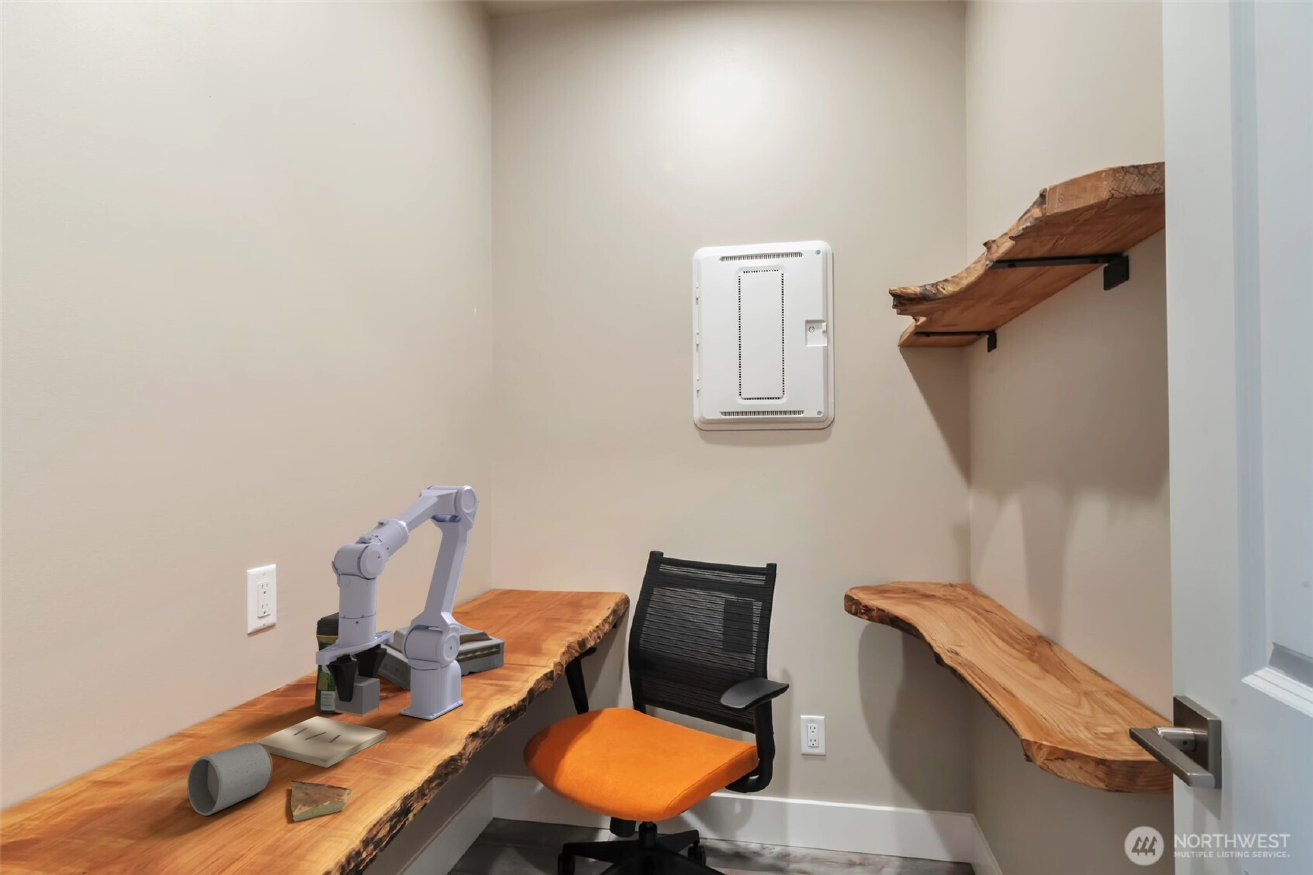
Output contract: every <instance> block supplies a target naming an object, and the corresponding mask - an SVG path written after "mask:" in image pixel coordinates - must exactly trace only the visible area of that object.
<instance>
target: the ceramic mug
mask: <svg viewBox="0 0 1313 875" xmlns="http://www.w3.org/2000/svg"><path fill="white" fill-rule="evenodd" d="M272 759H273V758H272V756H271V753H269V751H268V750H267V748H266V747H265V746H264V745H263V744H261V743H257V742H254V741H253V742H248V743H247V742H245V743H242V744H239V745H236V746H233V747H232V746H231V747H230V748H226V749H222V750H219V751H215V752H211V753H208V754H205V755H201V756H200V757H198V758H197V759H195V761H193V763H192V764H191V766H190V768H189V771H188V776H187V781H186V784H187V785H186V787H187V788H186V789H187V795H188V799H189V801H190V804H191V806H192V808H193V809H194V811H195V812H196V813H197V814H199V815H201V816H204V817H206V816H210V815H213V814H215V813H217V812H220V811H221V810H224V809H226V808H228V807H230V806H233V805H234V804H235V805H236V804H237V803H239V802H241V801H244V800H246V799H248V798H250V797H252V796H255V795H257V794H258V793H260V792H261V791H263V790H264V789H265V788H266V787H267V786H268V785H269V782H270V780H271V778H272V774H273V760H272Z"/></svg>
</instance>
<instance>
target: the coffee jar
mask: <svg viewBox="0 0 1313 875" xmlns="http://www.w3.org/2000/svg"><path fill="white" fill-rule="evenodd" d="M338 634H339V611H338V612H334V613H332V614H329V615H326V616H325V615H324V616H323V617H321V618H320V619H318V620H317V621H316V633H315V638H316V640H317V644H318V651H320V650H323V649H325V648H327V647H329V646H331V645H333V644H335V643H336V640H337V639H338ZM350 658H352V660H356V656H355V654H353V655H350ZM355 675H357V676H358V667H357V670H356V673H355ZM315 684H316V685H315V693H314V694H315V696H314V708H315V711H319V712H320V713H323V714H333V713H336V712H335V687H336V685H335V682H334V680H333V677H332V675H331V673H330V671H329V670H328V668H327V667H326V665H319V664H317V674H316V683H315Z"/></svg>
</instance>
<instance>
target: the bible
mask: <svg viewBox="0 0 1313 875" xmlns="http://www.w3.org/2000/svg"><path fill="white" fill-rule="evenodd" d="M457 623H458V624H459V625H460V627H461V629H460V634H459V641H460V648H459V652H458V654H457V656H456V658H455V659H454V660H456V661H457V662H458V664H459V666H460V669H461V677H462V676H463V675H464V676H467V675H468V674H469V673H470V672H474V673H478V672H479V673H481V672H486V671H489V670H492V669H497V668H501V667H504V666H505V661H504V657H505V656H504V655H505V640H502V639H499V638H497V637H495V636H492V635H490V634H488V633H487V632H486V631H485V630H477V629H474V628H471V627H468V626H466V625H463V624H462V623H460V622H458V621H457ZM409 627H410V625H409V626H405V627H400V628H396V630H395V631H394V642H393V643H390V644H387V643H386V644H383V645H381V648H386V649H387V655H386V656H385V658H384V659H383V661H382V663H381V665H380V667H379V669H378V672H377V675H378V676H380V677H382V678H384V679H386V680H388V681H390V682H391V683H392V684H394V685H397V686H398V687H400V688H402V689H403V690H406V691H408V690H410V688H411V666H410V665H408V660H407V659H406V658H405V657H404V656H403V654H402V641H403V639H404V636H405V635H406V633H407V631H408V630H409ZM429 629H432V630H441V631H442V629H441V628H434V627H433V628H429ZM496 667H497V668H496ZM480 671H481V672H480Z"/></svg>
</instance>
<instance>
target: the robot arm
mask: <svg viewBox="0 0 1313 875" xmlns="http://www.w3.org/2000/svg"><path fill="white" fill-rule="evenodd" d="M478 507H479V499H478V496H477V494H476V491H475V490H474V488H473V487H472V486H470V485H437V484H430V485H428V486H426V487H425V488H424V489H423V490H421V491H419V495H418V498H417V499H416V500H415V501H414V502H413V503H412V504H411V505H409V506H408V507H407V508H406V509H404V511H403V512H402V513H401V514H399V515H398V516H397V517H396V518H392V517H391V518H381V519H379V521H378V522H377V525H376V526H375V527H373V528H372V529H371V530H370V531H369V530H368V532H367V533H365V534H362V535H361V536H359V539H357V540H356V542H348V543H345V544H343V545H342V546H341V547H340V548H338V550H337V551H336V553H335V555H334V556H333V557H334V558H333V560H331V569H332V572H333V573H334V574H335V577H336V585H337V587H338V588H339V599H338V600H339V603H338V612H339V634H338V639H337V640H336V643H335V644H333V645H331V646H329V647H327V648H325V649H323V650H320V651H319V650H317V651H315V665H318V664H319V665H326V667H327V668H328V670H329V671H330V673H331V675H332V677H333V680H334V682H335V685H336V688H337V692H338V696H339V701H344V702H350V701H352V697H353V687H354V678H355V673H356V670H357V667H358V676H363V677H369V678H375V679H377V678H376V677H377V675H378V674H377V672H378V669H379V667H380V665H381V663H382V661H383V659H384V658H385V656H386V655H387V649H386V648H381V645H383V644H386V643H387V644H390V643H393V642H394V633H395V631H393V630H392V631H391V630H383V631H382V630H381V631H379V632H377V631H376V630H377V629H376V626H377V597H378V596H377V595H378V594H377V588H378V587H377V586H378V576H380V575H381V574H382V573H383V571H384V569H385V567H386V564H387V562H388V561H389V558H390V557H392V556H393V555H394V554H395V553H396V552H398V550H400V549H401V548H403V546H405V545H406V544H407V542H408V540H409V536H410V535H409V533H411V532H412V531H414V530H415V529H417V528H418V527H420V526H421V525H422V524H424V523H425V522H426V521H428V520H429V519H430V520H431V522H432V523H433V524H434V525H435V527H437V528H438V529H440V531H441V533H442V537H441V541H440V544H439V549H438V552H437V557H436V561H435V566H434V569H433V573H432V576H431V581H430V586H429V590H428V591H427V592H428V593H427V595H426V596H427V597H426V601H425V604H424V605H425V606H424V609H423V611H422V612H420V613H419V614H418V615H417V616H415V617H414V618H412V619H411V621H410V624H409V626H410V627H409V630H408V631H407V633H406V635H405V636H404V639H403V641H402V654H403V656H404V657H405V658H406V659H407V660H408V665H410V666H411V688H410V689H409V690H410V693H409V695H410V698H409V703H410V704H409V706H408V707H405V708H402V709H400V711H399V714H400V715H406V716H408V717H415V718H420V719H425V720H429V721H431V720H434V719H436V718H438V717H439V716H440V717H441V716H442V715H444V714H446V713H449V711H451V710H453V709H456V708H457V707H460V706H462V705H464V704H465V701H464V700H462V699H461V697H462V696H461V695H462V694H461V693H462V692H461V690H462V676H461V669H460V666H459V664H458V662H457V661H456V660H454V659H455V658H456V656H457V654H458V652H459V648H460V641H459V634H460V629H461V627H460V625H459V624H458V623H457V622H458V621H457V620H456V619H455V618H454V617H453V616H452V614H453V609H454V605H455V602H456V596H457V593H458V588H459V584H460V579H461V576H462V571H463V567H464V563H465V559H466V553H467V551H468V550H467V549H468V544H469V541H470V538H471V537H470V536H471V531H472V529H473V528H474V523H475V520H476V515H477V510H478ZM433 627H434V628H441V629H442V631H441V630H432V629H429V628H433ZM353 654H355V656H356V660H352V658H350V655H353Z"/></svg>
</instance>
